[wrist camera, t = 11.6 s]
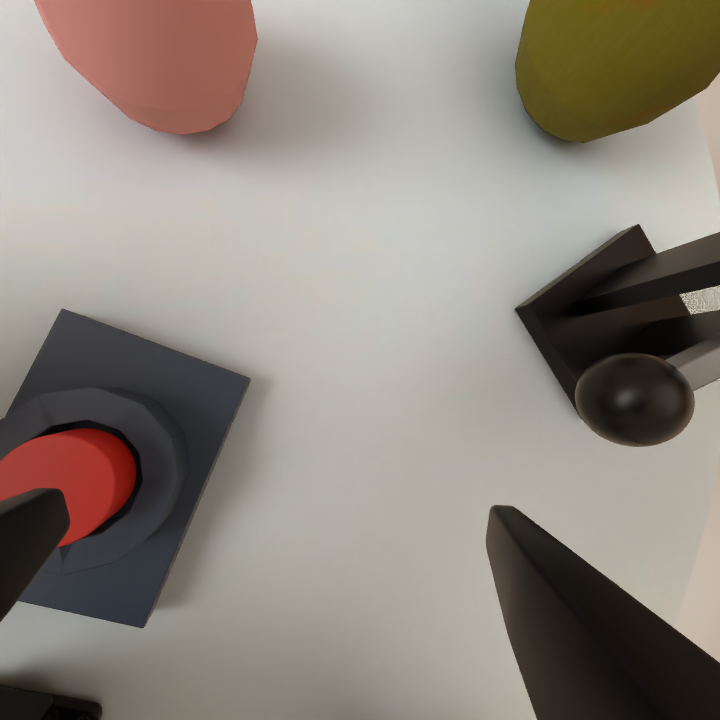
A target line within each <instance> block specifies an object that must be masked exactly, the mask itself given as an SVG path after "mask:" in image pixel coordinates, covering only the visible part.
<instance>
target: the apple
mask: <svg viewBox="0 0 720 720" xmlns="http://www.w3.org/2000/svg"><path fill="white" fill-rule="evenodd" d="M515 69H516V82H517V89H518V91H519V94H520V96H521V99H522V101H523V104H524V106H525V109H526V111H527V112H528V113H529V115H530V116H531V117H532V118H533V119H534V120H535V121H536V123H537V124H538V125H539V126H540V127H541V128H542V130H544V131H546V132H548V133H550V134H552V135H554V136H556V137H558V138H560V139H562V140H565V141H572V142H580V143H585V142H588V141H591V140H595V139H598V138H601V137H605V136H608V135H611V134H615V133H618V132H621V131H625V130H628V129H631V128H635V127H638V126H641V125H645V124H648V123H649V122H651V121H653V120H654V119H656V118H658V117H659V116H661V115H663V114H664V113H666V112H668V111H669V110H671V109H673V108H674V107H676V106H678V105H679V104H681V103H683V102H684V101H686V100H688V99H689V98H691V97H693V96H694V95H696V94H698V93H699V92H701V91H703V90H704V89H706V88H707V87H708V86H709V85H710V83H711V82H712V81H713V80H714V78H715V77H716V76H717V75H718V74H719V72H720V0H530V3H529V6H528V9H527V12H526V15H525V20H524V25H523V29H522V34H521V39H520V44H519V48H518V53H517V58H516V62H515Z"/></svg>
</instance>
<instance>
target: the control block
mask: <svg viewBox="0 0 720 720" xmlns="http://www.w3.org/2000/svg"><path fill="white" fill-rule="evenodd" d="M250 380H251V379H250V378H248V377H246V376H243V375H240V374H238V373H235V372H232V371H230V370H227V369H224V368H222V367H219V366H216V365H214V364H211V363H208V362H206V361H203V360H200V359H198V358H195V357H192V356H189V355H187V354H184V353H181V352H179V351H176V350H173V349H171V348H168V347H165V346H163V345H160V344H157V343H155V342H152V341H149V340H147V339H144V338H141V337H139V336H136V335H133V334H131V333H128V332H125V331H122V330H120V329H117V328H114V327H112V326H109V325H106V324H104V323H101V322H98V321H96V320H93V319H90V318H88V317H85V316H82V315H80V314H77V313H74V312H71V311H68V310H65V309H61V311H60V313H59V315H58V317H57V319H56V321H55V323H54V324H53V326H52V328H51V330H50V332H49V334H48V336H47V338H46V340H45V342H44V344H43V345H42V347H41V349H40V351H39V353H38V355H37V357H36V359H35V361H34V363H33V365H32V366H31V368H30V370H29V372H28V374H27V376H26V378H25V380H24V382H23V384H22V386H21V387H20V389H19V391H18V393H17V395H16V397H15V399H14V401H13V403H12V405H11V407H10V408H9V410H8V412H7V414H6V416H5V417H4V418H3V419H1V420H0V461H1V460H2V459H3V458H4V457H5V456H6V455H7V454H8V453H9V452H11V451H12V450H13V449H15V448H16V447H18V446H19V445H21V444H23V443H25V442H27V441H29V440H32V439H35V438H37V437H41V436H46V435H50V434H55V433H60V432H64V431H69V430H73V429H80V428H92V429H99V430H103V431H106V432H108V433H111V434H112V435H114V436H116V437H117V438H119V439H120V440H121V441H123V442H124V443H125V444H126V446H127V447H128V448H129V450H130V451H131V453H132V455H133V458H134V460H135V464H136V481H135V486H134V488H133V491H132V493H131V495H130V497H129V499H128V500H127V502H126V503H125V504H124V505H123V507H122V508H121V509H120V510H119V511H117V512H116V513H115V514H114V515H113V516H111V517H110V518H109V519H108V520H106V521H105V522H104V523H102V524H101V525H100V526H99V527H97V528H96V529H95V530H94V531H92V532H91V533H89V534H88V535H87V536H85V537H83V538H82V539H80V540H78V541H76V542H73V543H71V544H68V545H64V546H61V547H56V549H55V550H54V551H53V553H52V554H51V555H50V557H49V558H48V560H47V561H46V562H45V564H44V565H43V566H42V568H41V569H40V571H39V572H38V573H37V575H36V576H35V577H34V579H33V580H32V581H31V583H30V584H29V586H28V587H27V588H26V590H25V591H24V592H23V594H22V595H21V596H20V598H19V599H18V600H17V601H22V602H26V603H31V604H35V605H40V606H44V607H49V608H53V609H58V610H62V611H67V612H71V613H76V614H80V615H85V616H89V617H94V618H98V619H103V620H107V621H112V622H116V623H121V624H125V625H130V626H134V627H139V628H144V626H145V624H146V623H147V621H148V619H149V617H150V616H151V614H152V612H153V610H154V608H155V605H156V603H157V601H158V598H159V596H160V594H161V591H162V589H163V587H164V584H165V582H166V579H167V577H168V575H169V572H170V570H171V568H172V565H173V563H174V560H175V558H176V556H177V553H178V551H179V549H180V546H181V544H182V541H183V539H184V537H185V534H186V532H187V530H188V527H189V525H190V523H191V520H192V518H193V515H194V513H195V511H196V508H197V506H198V504H199V501H200V499H201V496H202V494H203V492H204V489H205V487H206V485H207V482H208V480H209V477H210V475H211V473H212V470H213V468H214V466H215V463H216V461H217V458H218V456H219V454H220V451H221V449H222V447H223V444H224V442H225V440H226V437H227V435H228V432H229V430H230V428H231V425H232V423H233V421H234V418H235V416H236V413H237V411H238V409H239V406H240V404H241V402H242V399H243V397H244V394H245V392H246V390H247V387H248V385H249V383H250Z"/></svg>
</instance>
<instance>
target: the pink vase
mask: <svg viewBox="0 0 720 720" xmlns="http://www.w3.org/2000/svg"><path fill="white" fill-rule="evenodd" d="M34 1H35V4H36V6H37V8H38V10H39V13H40V15H41V17H42V19H43V22H44V24H45V26H46V28H47V30H48V31H49V33H50V35H51V37H52V38H53V40H54V42H55V44H56V45H57V47H58V49H59V51H60V52H61V54H62V56H63V58H64V59H65V60H66V61H67V62H68V63H69V64H70V65H71V66H72V67H74V68H75V69H76V70H77V71H78V72H79V73H80V74H81V75H82V76H83V77H85V78H86V79H87V80H88V81H89V82H90V83H91V84H92V85H93V86H95V87H96V88H97V89H98V90H99V91H100V92H101V93H102V94H103V95H104V96H106V97H107V98H108V99H109V100H110V101H111V102H112V103H113V104H114V105H116V106H117V107H118V108H119V109H120V110H121V111H122V112H123V113H124V114H125V115H127V116H128V117H129V118H130V119H132V120H135V121H137V122H139V123H141V124H143V125H145V126H147V127H149V128H151V129H154V130H156V131H162V132H169V133H175V134H182V135H184V134H190V133H197V132H203V131H209V130H210V129H212V128H214V127H216V126H217V125H219V124H221V123H223V122H224V121H226V120H228V119H229V118H230V117H231V115H232V114H233V113H234V111H235V110H236V109H237V108H238V106H239V105H240V104H241V102H242V99H243V96H244V92H245V88H246V84H247V81H248V77H249V73H250V69H251V65H252V61H253V57H254V53H255V49H256V44H257V40H258V38H257V32H256V26H255V20H254V13H253V8H252V4H251V0H34Z"/></svg>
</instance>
